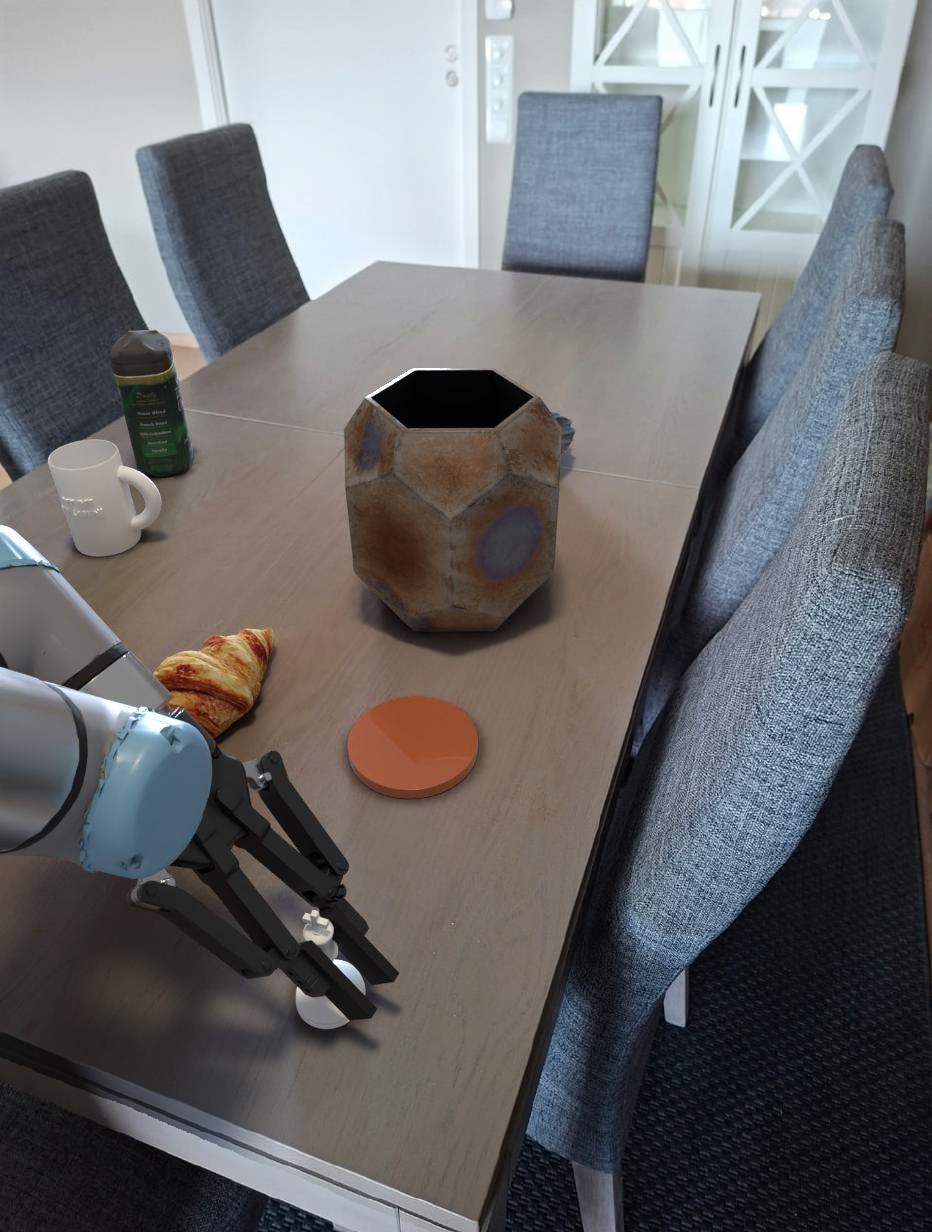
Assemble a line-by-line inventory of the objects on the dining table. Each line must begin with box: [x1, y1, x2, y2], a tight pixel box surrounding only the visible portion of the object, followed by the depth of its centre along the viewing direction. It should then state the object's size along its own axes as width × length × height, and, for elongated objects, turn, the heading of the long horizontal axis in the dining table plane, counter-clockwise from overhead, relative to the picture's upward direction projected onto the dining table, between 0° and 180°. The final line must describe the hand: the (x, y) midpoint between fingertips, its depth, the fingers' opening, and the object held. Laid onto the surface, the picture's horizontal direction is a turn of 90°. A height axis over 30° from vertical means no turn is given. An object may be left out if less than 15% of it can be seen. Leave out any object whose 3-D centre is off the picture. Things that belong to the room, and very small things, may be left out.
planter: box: [343, 367, 562, 633], centre depth 94 cm, size 22×24×24 cm
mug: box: [47, 438, 162, 558], centre depth 107 cm, size 8×12×12 cm
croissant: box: [152, 627, 276, 740], centre depth 84 cm, size 21×10×8 cm, turn 156°
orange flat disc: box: [347, 695, 479, 800], centre depth 81 cm, size 12×12×1 cm
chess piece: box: [295, 909, 366, 1030], centre depth 59 cm, size 5×5×10 cm
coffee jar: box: [109, 329, 194, 477], centre depth 122 cm, size 10×8×19 cm
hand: (374, 996), depth 59 cm, fingers closed on chess piece, 2 cm apart
